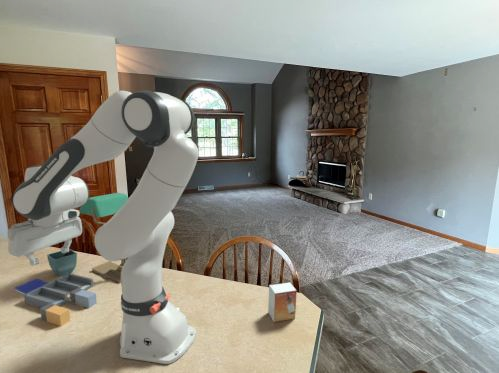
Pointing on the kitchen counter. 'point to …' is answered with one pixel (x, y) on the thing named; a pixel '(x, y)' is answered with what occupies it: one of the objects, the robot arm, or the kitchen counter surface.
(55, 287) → the grey compartment tray
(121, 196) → the banker's lamp
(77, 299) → the slate-blue plug
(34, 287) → the hard drive
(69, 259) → the flower pot
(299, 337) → the kitchen counter surface
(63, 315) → the orange plug
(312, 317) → the kitchen counter surface
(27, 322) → the kitchen counter surface
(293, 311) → the small box
